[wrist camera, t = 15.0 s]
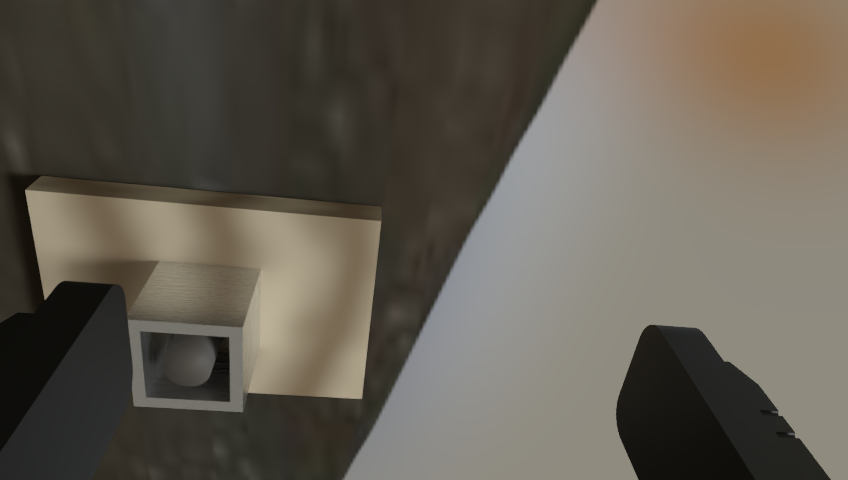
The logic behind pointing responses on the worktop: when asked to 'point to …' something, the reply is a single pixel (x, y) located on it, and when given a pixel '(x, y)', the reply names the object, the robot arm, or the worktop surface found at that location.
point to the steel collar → (196, 333)
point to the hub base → (227, 246)
